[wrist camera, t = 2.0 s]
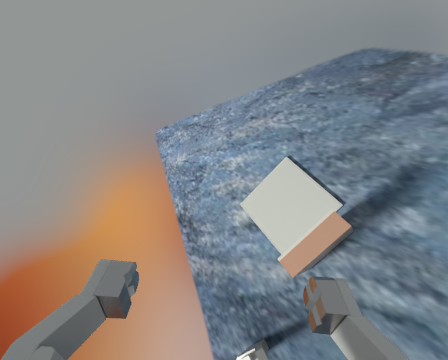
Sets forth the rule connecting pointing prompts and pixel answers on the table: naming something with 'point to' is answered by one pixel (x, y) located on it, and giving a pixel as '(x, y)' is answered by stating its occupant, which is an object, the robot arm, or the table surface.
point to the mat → (288, 204)
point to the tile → (315, 243)
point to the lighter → (255, 352)
